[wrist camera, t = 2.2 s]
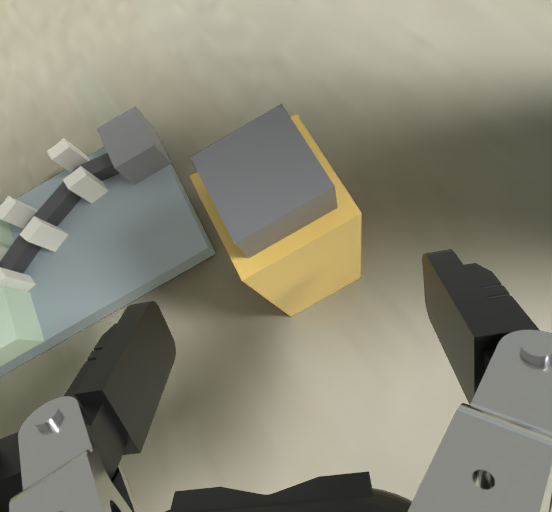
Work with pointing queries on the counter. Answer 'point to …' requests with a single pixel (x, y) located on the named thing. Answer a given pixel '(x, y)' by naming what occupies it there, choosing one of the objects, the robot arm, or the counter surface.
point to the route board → (92, 238)
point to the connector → (280, 211)
